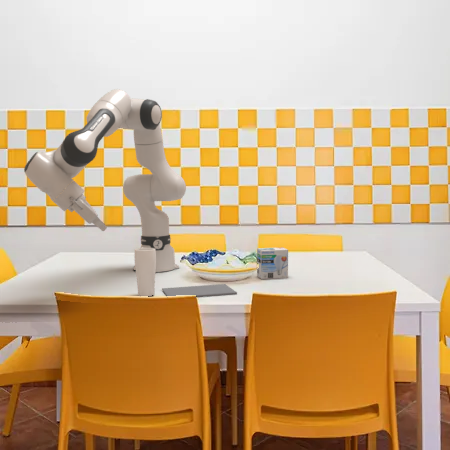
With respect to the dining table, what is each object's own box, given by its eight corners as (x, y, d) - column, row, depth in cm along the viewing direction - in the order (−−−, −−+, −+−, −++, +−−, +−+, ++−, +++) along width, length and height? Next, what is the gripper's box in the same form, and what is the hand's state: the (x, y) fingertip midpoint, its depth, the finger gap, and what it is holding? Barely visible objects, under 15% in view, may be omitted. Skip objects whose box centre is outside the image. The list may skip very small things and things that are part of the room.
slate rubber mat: (162, 290, 175) (161, 288, 175) (225, 285, 181) (225, 283, 181) (169, 299, 161) (169, 297, 161) (236, 294, 167) (236, 292, 167)
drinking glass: (141, 298, 163) (140, 251, 161) (132, 295, 168) (130, 248, 167) (160, 295, 167) (159, 249, 165) (150, 292, 172) (149, 247, 171)
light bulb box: (261, 279, 191) (260, 250, 190) (256, 276, 197) (256, 248, 196) (289, 278, 193) (288, 249, 192) (283, 274, 199) (283, 246, 198)
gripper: (78, 190, 149) (113, 223, 152) (77, 189, 169) (109, 218, 172) (62, 206, 148) (98, 239, 152) (63, 203, 168) (96, 232, 171)
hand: (104, 228), depth 162 cm, fingers open, 8 cm apart
